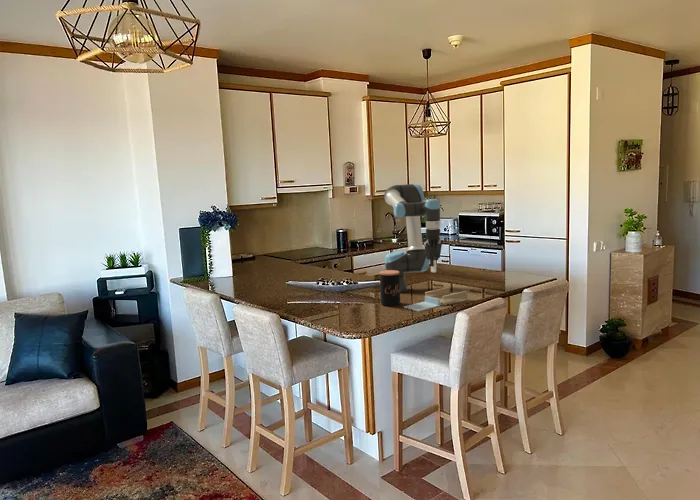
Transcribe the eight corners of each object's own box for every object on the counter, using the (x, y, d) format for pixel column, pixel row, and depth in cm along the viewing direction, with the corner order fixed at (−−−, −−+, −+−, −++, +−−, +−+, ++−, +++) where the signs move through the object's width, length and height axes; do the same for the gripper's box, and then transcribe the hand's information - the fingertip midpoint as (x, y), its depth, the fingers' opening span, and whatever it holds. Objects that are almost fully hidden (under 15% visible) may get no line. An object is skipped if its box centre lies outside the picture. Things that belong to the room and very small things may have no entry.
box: (425, 301, 296) (425, 292, 295) (448, 295, 306) (448, 287, 305) (444, 305, 284) (443, 296, 284) (467, 299, 295) (467, 291, 294)
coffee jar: (384, 307, 286) (383, 274, 283) (378, 303, 296) (377, 271, 293) (403, 305, 289) (402, 272, 286) (396, 301, 299) (395, 269, 296)
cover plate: (403, 308, 284) (403, 301, 284) (426, 302, 294) (426, 295, 294) (418, 312, 275) (418, 304, 275) (441, 306, 285) (441, 299, 284)
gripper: (429, 230, 277) (429, 274, 281) (446, 227, 285) (447, 271, 289) (419, 229, 283) (419, 272, 287) (436, 226, 291) (437, 269, 295)
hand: (433, 271), depth 288 cm, fingers closed
